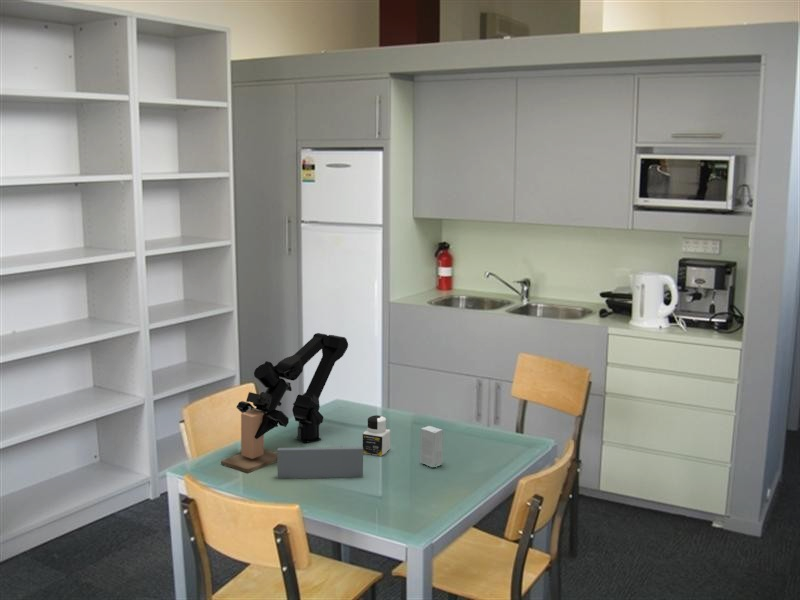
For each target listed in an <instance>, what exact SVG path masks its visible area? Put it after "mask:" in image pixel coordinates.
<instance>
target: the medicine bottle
mask: <svg viewBox="0 0 800 600" xmlns="http://www.w3.org/2000/svg"><path fill="white" fill-rule="evenodd" d="M386 425H387V418H386V417H385V416H382V415H379V414H378V415H377V414H376V415H371V416H369V417H368V418H367V430H365V431H364V432H363V433H362V447H363V454H365V455H366V454H367V455H371V454H372V456H377V455H380V456H379V457H383V456H384V455H385V454H386V453H388V452H389V451H390V450H391V429H387V426H386ZM389 449H390V450H389ZM388 450H389V451H388ZM387 451H388V452H387ZM382 455H383V456H382Z"/></svg>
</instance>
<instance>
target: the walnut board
mask: <svg viewBox="0 0 800 600" xmlns="http://www.w3.org/2000/svg"><path fill="white" fill-rule="evenodd" d="M276 462H277V452H274V451H271V450H269V449H266V448H264V454H263V455H261V456H258V457H256V458H254V459H251V458H248V457H246V456H243V455H241V452H240V453H238V454H236V455H233V456H230V457H227V458H225V459H222V460H221V461H220V465H221V464H223V465H222V466H224V465H226V466H225V467H228V466H229V467H228V468H231V467H232V468H231V469H235V470H237V471H240V472H243V473H246V474H249V473H252V472H254V471H257V470H260V469H262V468H265V467H267V466H269V465H271V464H274V463H276Z"/></svg>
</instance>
